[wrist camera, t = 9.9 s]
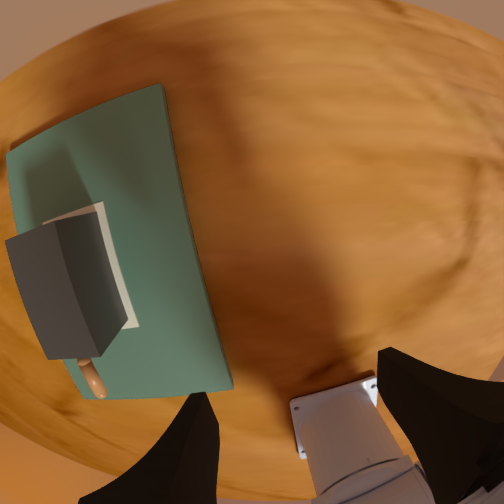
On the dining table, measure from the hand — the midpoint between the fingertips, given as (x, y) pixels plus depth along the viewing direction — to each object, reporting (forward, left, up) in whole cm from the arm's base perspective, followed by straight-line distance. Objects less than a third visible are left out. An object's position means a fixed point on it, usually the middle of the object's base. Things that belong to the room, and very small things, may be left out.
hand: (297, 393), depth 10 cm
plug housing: (+3, +12, -8) cm, 15 cm away
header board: (+5, +11, -9) cm, 15 cm away
